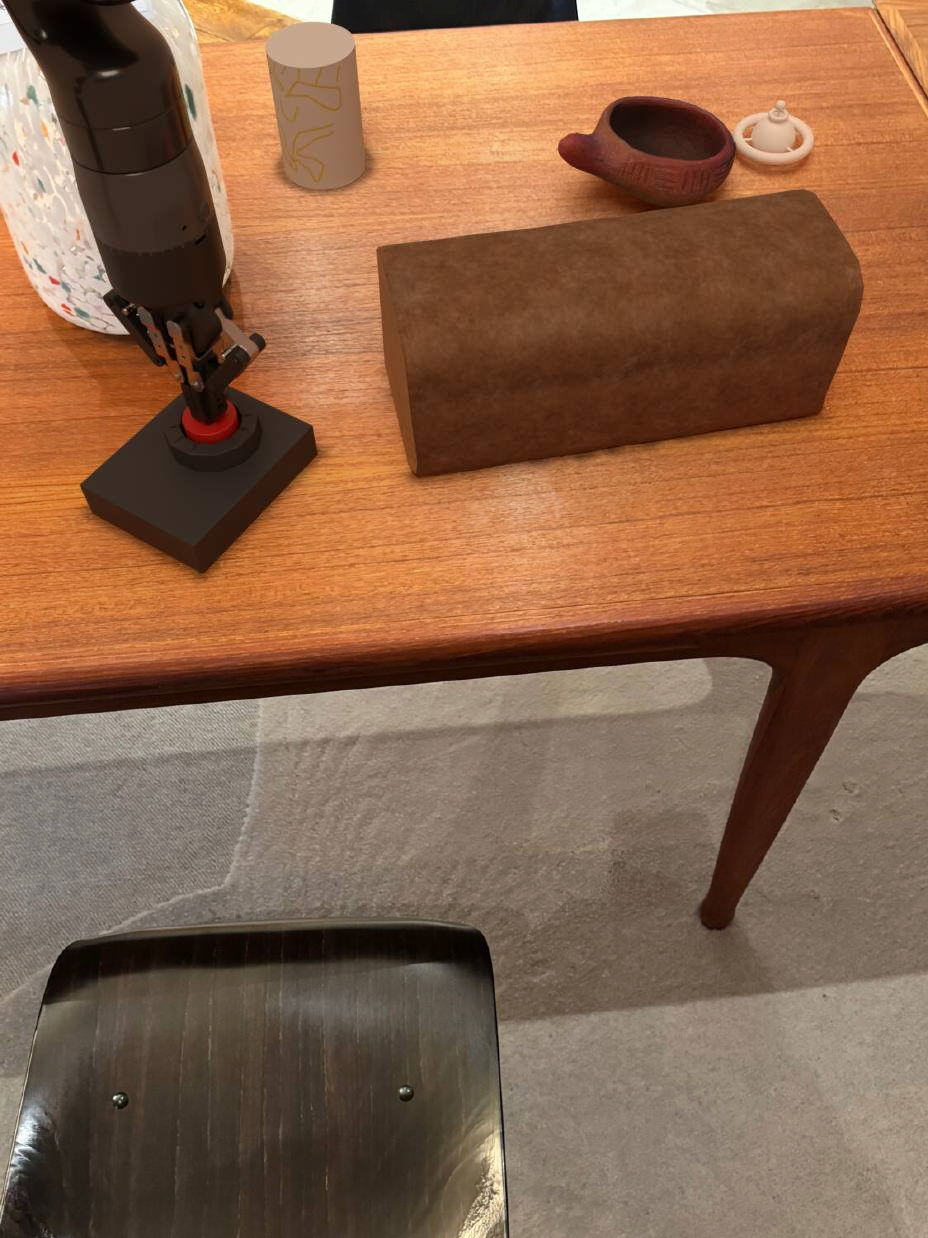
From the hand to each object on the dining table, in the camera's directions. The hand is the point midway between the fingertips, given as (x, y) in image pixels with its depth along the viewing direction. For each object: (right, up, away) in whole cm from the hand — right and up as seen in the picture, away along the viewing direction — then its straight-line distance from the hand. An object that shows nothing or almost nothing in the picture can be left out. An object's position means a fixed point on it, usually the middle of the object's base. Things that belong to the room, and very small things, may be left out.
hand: (210, 415), depth 79 cm
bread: (+30, +4, +9) cm, 32 cm away
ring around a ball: (+50, +31, +28) cm, 65 cm away
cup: (+5, +30, +28) cm, 41 cm away
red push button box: (-1, -5, +4) cm, 6 cm away
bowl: (+37, +25, +24) cm, 51 cm away
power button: (0, -1, +1) cm, 2 cm away
